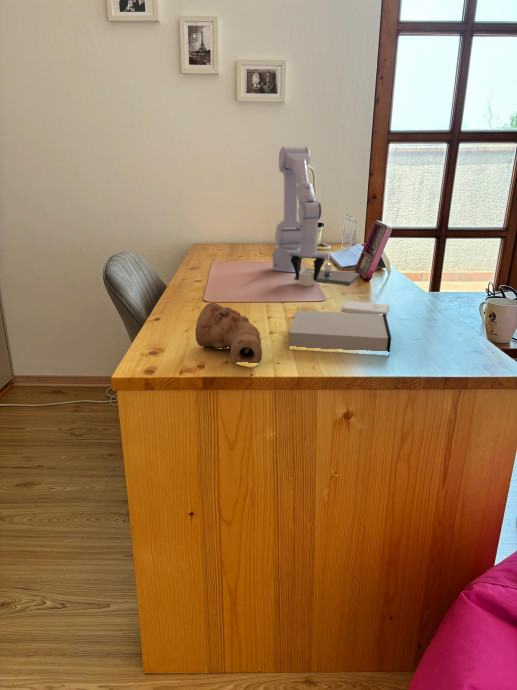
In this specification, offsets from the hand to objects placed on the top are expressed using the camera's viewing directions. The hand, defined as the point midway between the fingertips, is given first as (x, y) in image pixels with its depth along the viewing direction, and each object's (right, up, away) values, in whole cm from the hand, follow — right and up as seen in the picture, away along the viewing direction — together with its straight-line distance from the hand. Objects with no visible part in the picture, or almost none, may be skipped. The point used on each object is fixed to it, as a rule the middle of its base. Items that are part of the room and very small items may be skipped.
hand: (306, 279), depth 173 cm
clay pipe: (-23, -25, -60) cm, 69 cm away
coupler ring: (0, -2, +1) cm, 2 cm away
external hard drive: (+14, -13, -27) cm, 33 cm away
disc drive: (+3, -22, -51) cm, 56 cm away
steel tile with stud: (+8, +2, +9) cm, 13 cm away
